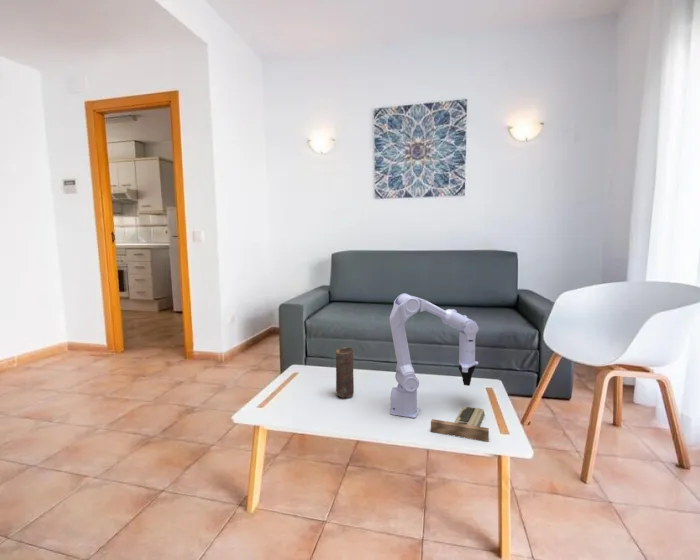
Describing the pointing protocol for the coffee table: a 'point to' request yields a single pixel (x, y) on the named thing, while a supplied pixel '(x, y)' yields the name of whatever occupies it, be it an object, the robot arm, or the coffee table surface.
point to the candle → (344, 372)
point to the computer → (470, 416)
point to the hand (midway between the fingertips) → (466, 384)
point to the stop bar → (460, 430)
